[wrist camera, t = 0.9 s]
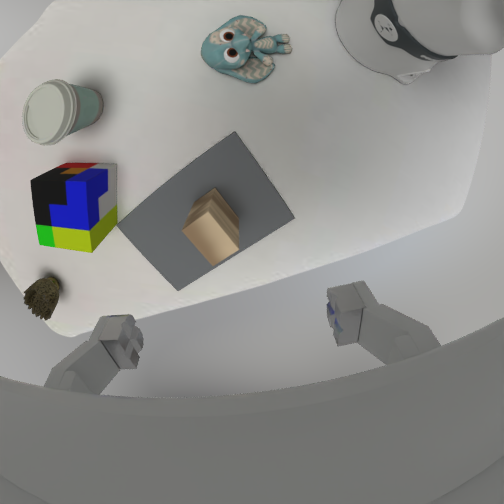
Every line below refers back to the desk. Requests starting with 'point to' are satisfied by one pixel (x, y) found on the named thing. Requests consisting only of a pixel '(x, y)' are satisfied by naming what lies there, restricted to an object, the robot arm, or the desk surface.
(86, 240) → the puzzle toy
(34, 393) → the robot arm
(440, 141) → the desk surface
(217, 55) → the stuffed animal
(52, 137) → the coffee cup
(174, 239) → the mat
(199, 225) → the oak block
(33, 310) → the olive cup-shaped piece
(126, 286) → the desk surface
